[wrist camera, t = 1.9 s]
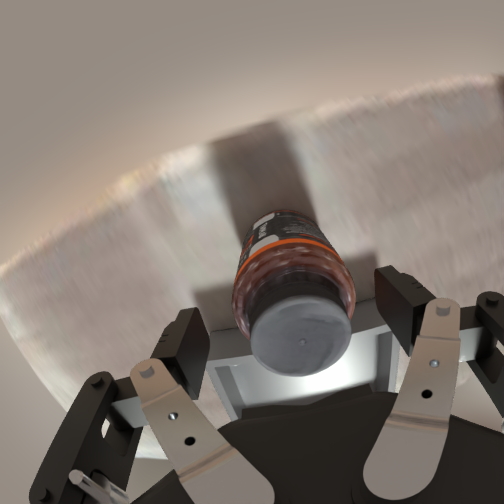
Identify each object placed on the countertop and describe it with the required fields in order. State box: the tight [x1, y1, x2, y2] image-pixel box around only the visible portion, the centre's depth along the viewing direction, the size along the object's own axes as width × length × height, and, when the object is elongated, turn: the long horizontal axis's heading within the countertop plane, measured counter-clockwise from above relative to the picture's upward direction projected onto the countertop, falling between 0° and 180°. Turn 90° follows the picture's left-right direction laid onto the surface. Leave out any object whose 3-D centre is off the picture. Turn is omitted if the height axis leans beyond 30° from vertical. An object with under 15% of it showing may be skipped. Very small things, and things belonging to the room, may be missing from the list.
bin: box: [205, 298, 400, 421], centre depth 22 cm, size 15×13×4 cm
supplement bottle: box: [232, 210, 356, 377], centre depth 15 cm, size 6×6×11 cm
